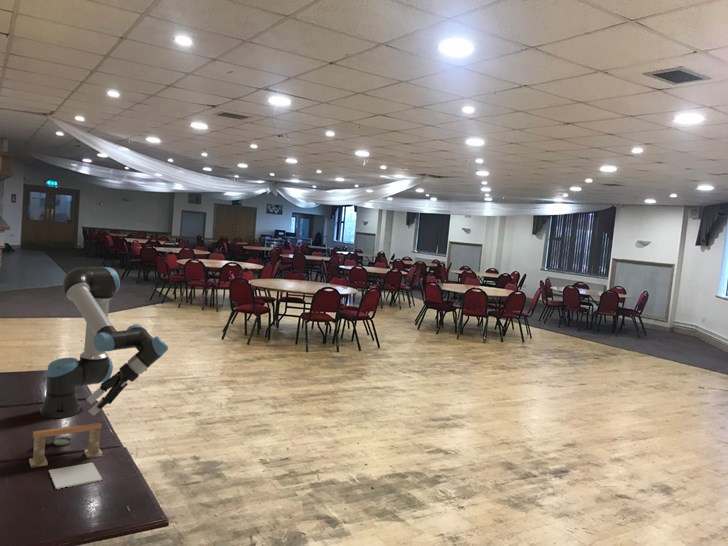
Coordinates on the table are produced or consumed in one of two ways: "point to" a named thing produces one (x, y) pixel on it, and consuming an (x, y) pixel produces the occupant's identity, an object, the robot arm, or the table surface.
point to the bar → (66, 430)
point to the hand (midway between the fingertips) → (89, 407)
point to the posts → (40, 449)
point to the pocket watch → (61, 440)
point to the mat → (74, 475)
